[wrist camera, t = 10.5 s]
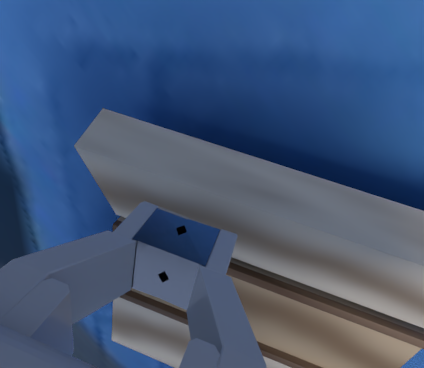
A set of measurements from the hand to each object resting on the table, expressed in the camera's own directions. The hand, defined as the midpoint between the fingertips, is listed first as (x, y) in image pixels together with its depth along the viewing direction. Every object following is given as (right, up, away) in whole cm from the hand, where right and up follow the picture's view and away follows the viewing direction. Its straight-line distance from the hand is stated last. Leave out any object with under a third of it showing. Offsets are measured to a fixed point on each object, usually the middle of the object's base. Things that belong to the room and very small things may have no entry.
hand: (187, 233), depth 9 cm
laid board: (+4, -6, +12) cm, 14 cm away
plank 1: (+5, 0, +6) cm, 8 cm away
